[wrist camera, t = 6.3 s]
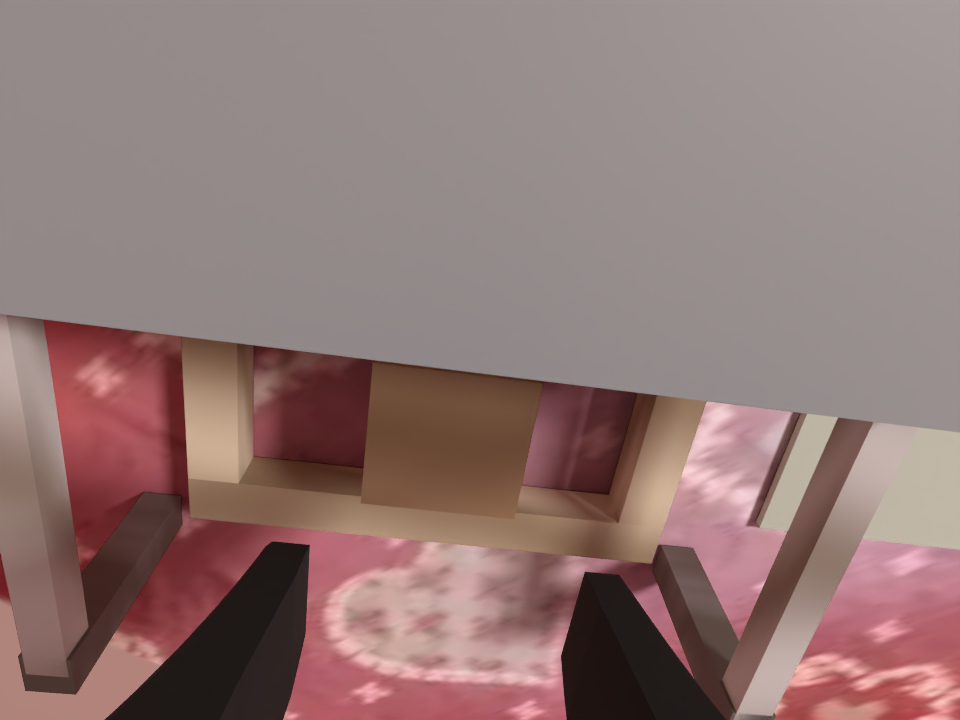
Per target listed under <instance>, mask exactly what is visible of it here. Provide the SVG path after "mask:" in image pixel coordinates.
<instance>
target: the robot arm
mask: <svg viewBox="0 0 960 720" xmlns="http://www.w3.org/2000/svg"><path fill="white" fill-rule="evenodd" d="M309 547H310V545H303V544H293V543H283V542H271V543H270V544H268V545H267V546H266V547H265V548H264V549H263V551H262V552H261V553H260V555H259V556H258V557H257V559H256V560H255V561H254V562H253V564H252V565H251V566H250V567H249V569H248V570H247V571H246V572H245V574H244V575H243V576H242V577H241V579H240V580H239V581H238V582H237V583H236V585H235V586H234V587H233V588H232V589H231V591H230V592H229V593H228V594H227V595H226V596H225V598H224V599H223V600H222V601H221V602H220V603H219V605H218V606H217V607H216V608H215V609H214V610H213V611H212V612H211V613H210V614H209V616H208V617H207V618H206V619H205V620H204V621H203V622H202V623H201V624H200V625H199V627H198V628H197V629H196V630H195V631H194V632H193V633H192V634H191V635H190V636H189V638H188V639H187V640H186V641H185V642H184V643H183V644H182V645H181V646H180V647H179V648H178V649H177V650H176V651H175V652H174V653H173V654H172V655H171V656H170V657H169V658H168V659H167V660H166V661H165V662H164V663H163V664H162V665H161V666H160V667H159V668H158V669H157V670H156V671H155V672H154V673H153V674H152V675H151V676H150V677H149V678H148V679H147V680H146V681H145V682H144V683H143V684H142V685H141V686H140V687H139V688H138V689H137V690H136V691H135V692H134V693H133V694H132V695H131V696H130V697H129V698H128V699H127V700H126V701H124V702H123V703H122V704H121V705H120V706H119V707H118V708H117V709H116V710H115V711H114V712H113V713H112V714H110V715H109V716H108V717H107V718H106V719H105V720H283V718H284V715H285V712H286V709H287V706H288V703H289V700H290V697H291V693H292V689H293V685H294V681H295V677H296V672H297V668H298V664H299V660H300V655H301V651H302V647H303V642H304V638H305V632H306V611H307V590H308V568H309ZM561 661H562V673H563V686H564V697H565V707H566V717H567V720H726V719H725V717H724V716H723V715H722V714H721V713H720V711H719V710H718V709H717V708H716V706H715V705H714V704H713V703H712V701H711V700H710V699H709V698H708V696H707V695H706V694H705V692H704V691H703V690H702V688H701V687H700V686H699V685H698V683H697V682H696V681H695V679H694V678H693V677H692V675H691V674H690V673H689V671H688V670H687V669H686V667H685V666H684V665H683V664H682V662H681V661H680V660H679V658H678V657H677V655H676V654H675V653H674V651H673V650H672V649H671V647H670V646H669V645H668V643H667V642H666V640H665V639H664V638H663V636H662V635H661V633H660V632H659V631H658V629H657V628H656V626H655V625H654V624H653V622H652V621H651V619H650V618H649V617H648V615H647V614H646V612H645V611H644V609H643V608H642V607H641V605H640V604H639V602H638V601H637V599H636V598H635V597H634V595H633V594H632V592H631V591H630V589H629V588H628V587H627V585H626V584H625V582H624V581H623V580H622V578H621V577H620V576H619V575H612V574H602V573H591V572H585V574H584V577H583V581H582V584H581V588H580V591H579V595H578V598H577V602H576V605H575V609H574V612H573V616H572V619H571V623H570V626H569V630H568V633H567V637H566V641H565V644H564V648H563V651H562V655H561Z"/></svg>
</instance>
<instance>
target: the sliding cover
mask: <svg viewBox="0 0 960 720" xmlns="http://www.w3.org/2000/svg"><path fill="white" fill-rule="evenodd" d="M0 314H5V315H13V316H21V317H29V318H37V319H45V320H53V321H61V322H69V323H77V324H85V325H94V326H102V327H110V328H118V329H126V330H134V331H142V332H150V333H158V334H166V335H175V336H183V337H191V338H199V339H207V340H215V341H223V342H231V343H239V344H247V345H255V346H264V347H272V348H280V349H288V350H296V351H304V352H312V353H320V354H328V355H336V356H344V357H353V358H361V359H369V360H377V361H385V362H393V363H401V364H409V365H417V366H425V367H433V368H442V369H450V370H458V371H466V372H474V373H482V374H490V375H498V376H506V377H514V378H523V379H531V380H539V381H547V382H555V383H563V384H571V385H579V386H587V387H595V388H603V389H612V390H620V391H628V392H636V393H644V394H652V395H660V396H668V397H676V398H684V399H692V400H701V401H709V402H717V403H725V404H733V405H741V406H749V407H757V408H765V409H773V410H782V411H790V412H798V413H806V414H814V415H822V416H830V417H838V418H846V419H854V420H862V421H871V422H879V423H887V424H895V425H903V426H911V427H919V428H927V429H935V430H943V431H951V432H960V0H0Z"/></svg>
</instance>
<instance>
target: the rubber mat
mask: <svg viewBox="0 0 960 720" xmlns="http://www.w3.org/2000/svg"><path fill="white" fill-rule="evenodd" d="M837 419H838V417H830V416H822V415H814V414H806V413H801V414H800V417H799V419H798V421H797V424H796V426H795V429H794V431H793V434H792V436H791V438H790V441H789V443H788V446H787V448H786V451H785V453H784V455H783V458H782V460H781V463H780V465H779V467H778V470H777V472H776V475H775V477H774V480H773V482H772V484H771V487H770V489H769V492H768V494H767V497H766V499H765V501H764V504H763V506H762V509H761V511H760V514H759V516H758V518H757V521H756V524H757V525H758V527H759V528H761V529H771V530H780V531H788V530H789V527H790V525H791V523H792V521H793V518H794V516H795V514H796V512H797V509H798V507H799V505H800V503H801V500H802V498H803V496H804V494H805V491H806V489H807V487H808V484H809V482H810V480H811V478H812V475H813V473H814V471H815V469H816V466H817V464H818V462H819V460H820V457H821V455H822V453H823V451H824V448H825V446H826V444H827V441H828V439H829V437H830V435H831V432H832V430H833V428H834V426H835V423H836V421H837ZM862 539H865V540H875V541H884V542H893V543H903V544H912V545H922V546H931V547H941V548H950V549H959V550H960V432H951V431H943V430H935V429H927V428H919V427H918V429H917V431H916V433H915V435H914V437H913V439H912V441H911V443H910V445H909V447H908V449H907V451H906V453H905V455H904V457H903V459H902V461H901V463H900V465H899V467H898V469H897V471H896V473H895V475H894V477H893V479H892V481H891V483H890V485H889V487H888V489H887V490H886V492H885V494H884V496H883V498H882V500H881V502H880V504H879V506H878V508H877V510H876V512H875V514H874V516H873V518H872V520H871V522H870V524H869V526H868V528H867V530H866V532H865V534H864V536H863V538H862Z"/></svg>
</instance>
